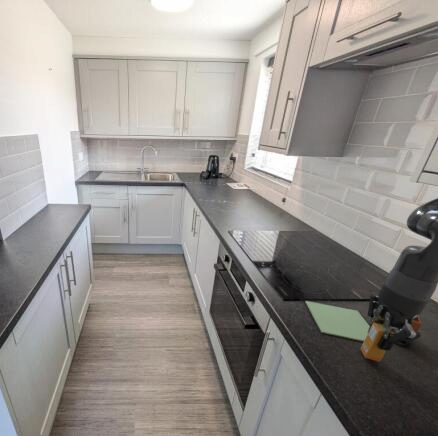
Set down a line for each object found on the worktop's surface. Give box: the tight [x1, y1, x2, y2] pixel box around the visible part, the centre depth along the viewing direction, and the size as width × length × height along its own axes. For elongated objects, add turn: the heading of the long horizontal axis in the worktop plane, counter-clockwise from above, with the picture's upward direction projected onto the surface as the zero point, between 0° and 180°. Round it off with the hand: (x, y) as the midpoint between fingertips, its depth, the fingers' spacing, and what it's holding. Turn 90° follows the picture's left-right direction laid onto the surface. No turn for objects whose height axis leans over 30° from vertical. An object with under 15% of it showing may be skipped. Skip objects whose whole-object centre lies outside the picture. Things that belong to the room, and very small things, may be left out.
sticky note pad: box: [305, 300, 370, 343], centre depth 75 cm, size 16×14×1 cm
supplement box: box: [360, 323, 394, 363], centre depth 61 cm, size 3×3×10 cm
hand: (377, 341), depth 61 cm, fingers closed on supplement box, 3 cm apart
